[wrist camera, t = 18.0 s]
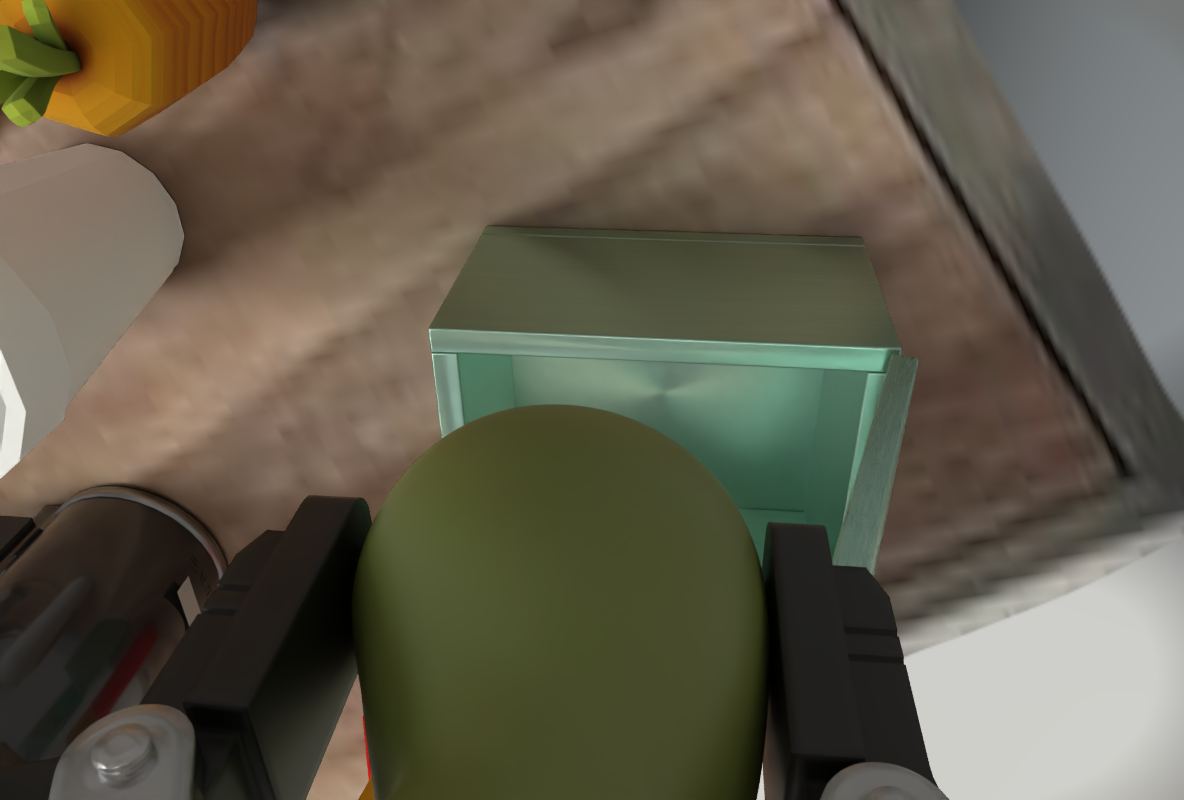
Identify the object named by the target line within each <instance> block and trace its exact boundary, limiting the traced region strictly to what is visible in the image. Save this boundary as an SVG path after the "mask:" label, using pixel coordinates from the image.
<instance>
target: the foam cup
mask: <svg viewBox="0 0 1184 800" xmlns="http://www.w3.org/2000/svg"><path fill="white" fill-rule="evenodd" d="M183 240H184V233H183V229H182V225H181V222H180V218H179V214H178V210H177V207H176V204H175V202H174V201H173V200H172V198H171V197H170V195H169V194H168V193H167V191H166V190H165V189H164V187H163V186H162V184H161V183H160V182H159V180H158V179H157V178H156V176H155V175H154V174H153V173H152V172H151V171H149V170H148V169H146V168H145V167H143V166H142V165H140V164H139V163H138V162H136V161H135V160H133V159H132V158H130V157H129V156H127V155H126V154H125V153H123V152H122V151H117V150H113V149H109V148H105V147H101V146H97V145H93V144H89V143H86V144H82V145H77V146H73V147H69V148H64V149H60V150H56V151H52V152H48V153H44V154H40V155H36V156H33V157H29V158H25V159H21V160H17V161H14V162H10V163H6V164H2V165H0V478H2V477H3V476H4V475H5V474H6V473H7V472H8V471H9V470H10V469H11V468H13V467H14V466H15V465H16V464H17V463H18V462H19V461H20V460H21V459H22V458H24V457H25V456H26V455H27V454H28V453H29V452H30V451H31V450H32V449H33V448H34V447H36V446H37V445H38V444H39V443H40V442H41V441H42V440H43V439H44V438H45V437H46V436H48V435H49V434H50V433H51V432H52V431H53V430H54V429H55V428H56V427H57V426H58V425H60V424H61V423H62V422H63V421H64V418H65V412H66V407H67V406H68V404H69V403H70V402H71V401H72V399H73V398H74V397H75V396H76V394H77V393H78V392H79V390H80V389H81V388H82V387H83V385H84V384H85V383H86V381H87V380H88V379H89V378H90V376H91V375H92V374H93V373H94V371H95V370H96V369H97V367H98V366H99V365H100V364H101V362H102V361H103V360H104V359H105V357H106V356H107V355H108V353H109V352H110V351H111V350H112V348H113V347H114V346H115V344H116V343H117V342H118V341H119V339H120V338H121V337H122V336H123V334H124V333H125V332H126V330H127V329H128V328H129V327H130V325H131V324H132V323H133V322H134V320H135V319H136V318H137V316H138V315H139V314H140V313H141V311H142V310H143V309H144V307H145V306H146V305H147V304H148V302H149V301H150V300H151V299H152V297H153V296H154V295H155V293H156V292H157V291H158V290H159V288H160V287H161V286H162V285H163V283H164V282H165V281H166V279H167V278H168V277H169V276H170V274H171V273H172V272H173V268H174V267H175V266H176V265H177V264H178V263H179V258H180V254H181V249H182V245H183Z"/></svg>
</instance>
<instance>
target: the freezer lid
mask: <svg viewBox="0 0 1184 800" xmlns="http://www.w3.org/2000/svg"><path fill="white" fill-rule="evenodd" d="M918 362H919V360H918V359H917V358H912V357H906V356H900V355H894V354H893V355H891V358H890V361H889V365H888V368H887V372H886V375H885V379H884V382H883V386H882V389H881V392H880V396H879V399H878V403H877V406H876V410H875V413H874V417H873V420H872V423H871V427H870V430H869V434H868V437H867V441H866V444H865V448H864V451H863V454H862V458H861V461H860V465H859V468H858V472H857V475H856V479H855V482H854V485H853V489H852V492H851V496H850V499H849V503H848V506H847V510H846V513H845V516H844V520H843V523H842V527H841V530H840V534H839V537H838V541H837V544H836V547H835V551H834V554H833V558H832V564H833V565H838V566H855V567H866V568H867V569H868V571H869V572H870V573H871V574H872V576H873V577H875V572H876V567H877V562H878V557H879V552H880V548H881V543H882V538H883V533H884V528H885V523H886V518H887V513H888V509H889V504H890V499H891V494H892V489H893V484H894V479H895V474H896V469H897V465H898V460H899V455H900V450H901V445H902V440H903V435H904V430H905V426H906V421H907V416H908V411H909V406H910V401H911V396H912V391H913V387H914V382H915V377H916V372H917V367H918Z"/></svg>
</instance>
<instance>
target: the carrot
mask: <svg viewBox="0 0 1184 800" xmlns="http://www.w3.org/2000/svg"><path fill="white" fill-rule="evenodd" d="M257 3H258V0H0V69H1V70H0V104H2V103H4V102H5V101H6V102H5V103H4V105H3V107H2V110H3V112H4V113H5V114H6V115H7V117H8V118H9V119H10V120H11V121H12V122H14V123H15V124H16V125H18V126H19V127H24V126H27V125H30V124H32V123H34V122H35V121H37V120H38V119H40V118H41V117H44V118H47V119H51V120H54V121H57V122H61V123H64V124H67V125H70V126H74V127H77V128H80V129H84V130H87V131H90V132H94V133H97V134H100V135H104V136H118V135H121V134H124V133H126V132H128V131H129V130H131V129H133V128H134V127H136V126H138V125H140V124H141V123H143V122H145V121H146V120H148V119H150V118H152V117H153V116H155V115H157V114H158V113H160V112H161V111H163V110H164V109H166V108H167V107H169V106H170V105H172V104H173V103H175V102H176V101H178V100H180V99H181V98H183V97H184V96H186V95H187V94H189V93H190V92H191V91H193V90H194V89H196V88H197V87H199V86H200V85H202V84H203V83H205V82H206V81H208V80H209V79H211V78H212V77H214V76H215V75H217V74H218V73H219V72H221V71H222V70H224V69H225V68H227V67H228V66H229V65H230V64H231V63H232V61H233V60H234V59H235V58H236V57H237V56H238V55H239V54H240V53H241V51H242V50H243V49H244V47H245V46H246V45H247V43H248V42H249V40H250V39H251V38H252V36H253V32H254V28H255V24H256V19H257Z"/></svg>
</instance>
